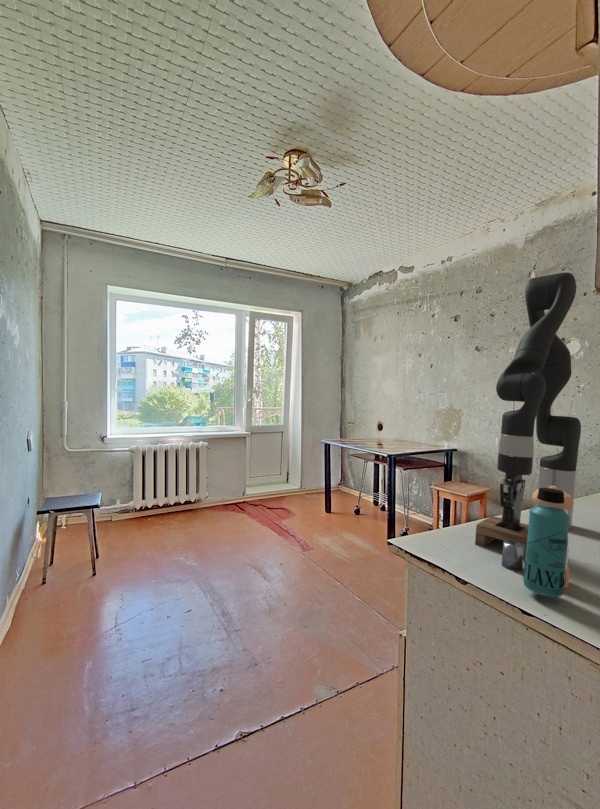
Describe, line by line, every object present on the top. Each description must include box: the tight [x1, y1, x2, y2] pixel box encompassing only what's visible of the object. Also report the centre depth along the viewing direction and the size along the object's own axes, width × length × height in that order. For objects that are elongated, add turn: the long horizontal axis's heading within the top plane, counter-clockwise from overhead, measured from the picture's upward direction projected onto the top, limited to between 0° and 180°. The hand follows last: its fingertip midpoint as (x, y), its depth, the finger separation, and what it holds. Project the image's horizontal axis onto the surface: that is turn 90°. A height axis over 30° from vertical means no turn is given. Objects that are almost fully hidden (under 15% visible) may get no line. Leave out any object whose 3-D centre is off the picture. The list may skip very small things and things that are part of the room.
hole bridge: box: [474, 515, 529, 560], centre depth 94 cm, size 12×12×5 cm
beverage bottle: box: [522, 488, 570, 598], centre depth 69 cm, size 6×7×20 cm
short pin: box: [501, 540, 525, 572], centre depth 81 cm, size 4×4×5 cm
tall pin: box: [501, 491, 524, 532], centre depth 94 cm, size 4×4×11 cm
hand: (510, 521), depth 94 cm, fingers closed on tall pin, 4 cm apart
